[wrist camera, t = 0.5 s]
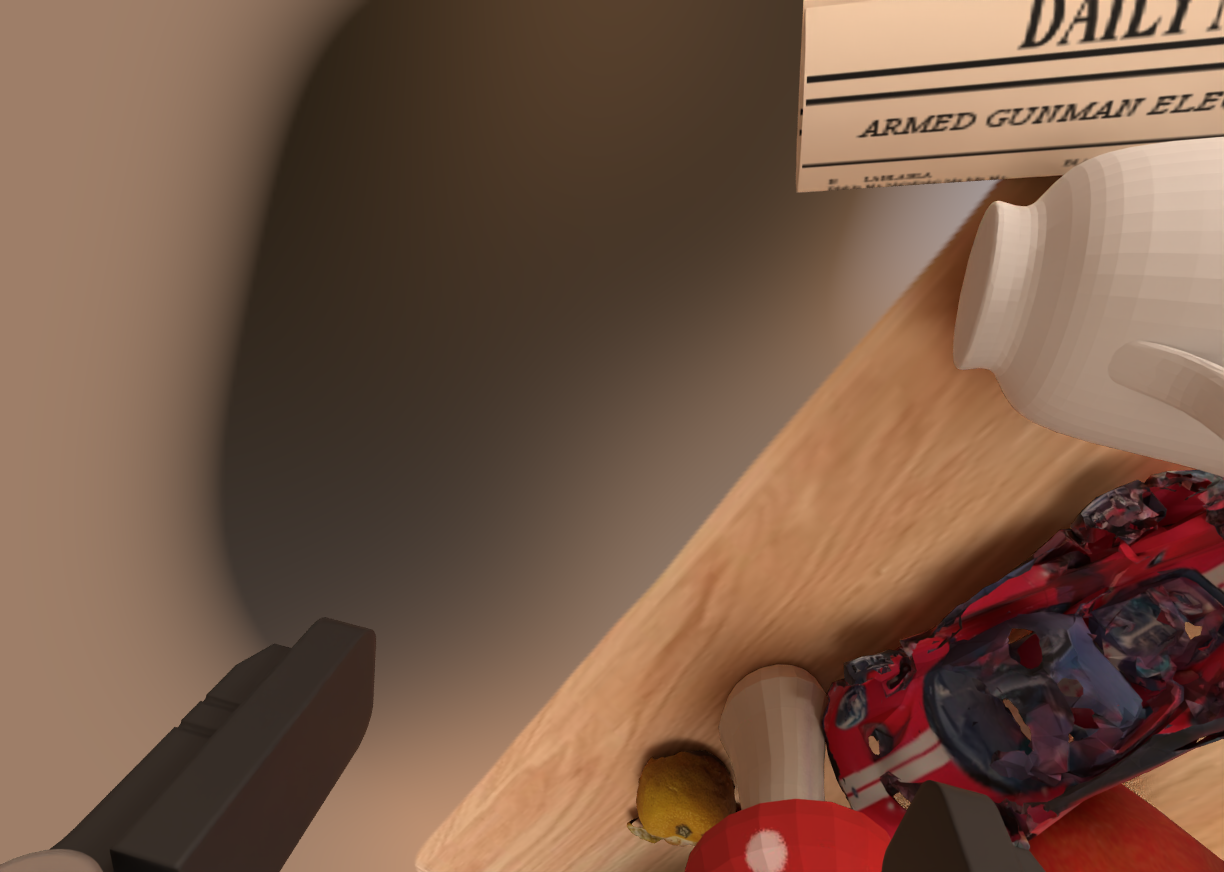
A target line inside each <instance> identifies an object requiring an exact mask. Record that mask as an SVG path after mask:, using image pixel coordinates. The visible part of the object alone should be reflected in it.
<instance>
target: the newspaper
mask: <svg viewBox="0 0 1224 872" xmlns="http://www.w3.org/2000/svg"><path fill="white" fill-rule="evenodd" d="M800 61H801V62H800V82H799V104H798V126H797V127H798V128H797V150H796V152H797V153H796V192H813V191H828V190H842V189H858V188H873V187H889V186H904V185H919V184H935V183H950V182H964V181H981V180H996V179H1011V178H1026V177H1042V176H1057V175H1064V174H1066V173H1067V172H1068V171H1069V170H1071V169H1072V168H1073V167H1075V166H1077V165H1079V164H1081V163H1083V162H1085V161H1087V160H1089V159H1091V158H1094V157H1097V156H1099V155H1102V154H1105V153H1108V152H1112V151H1116V150H1121V149H1125V148H1129V147H1135V146H1142V145H1149V144H1156V143H1163V142H1170V141H1180V140H1192V139H1203V138H1215V137H1224V0H804V2H803V22H802V41H801V60H800Z"/></svg>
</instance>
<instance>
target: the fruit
mask: <svg viewBox="0 0 1224 872" xmlns="http://www.w3.org/2000/svg"><path fill="white" fill-rule="evenodd" d="M734 789H735V785H734V783H733V780H732V779H731V778H730V773H729V772H728V771H727V770H726V768H725V766H724V765H723V763H722V762H721V761H720V760H719V759H718V758H717V757H715V756H714V755H712V754H710V753H709V752H707V751H701V750H699V751H686V752H678V753H677V754H676V755H672V756H669V757H666V758H663V757H660V758H659V759H654V757H651V758H650V759H649V761H648V764H647V765H645V767H644V768H643V770H642V775H641V777H640V778H639V787H638V791H637V797H636V804H637V811H638V815H639V817H638V818H639V819H640V821H641V823H642V825H643V827H634V826H633V825H632V823H633V822H634V821H635V820H637V819H638V818H636V819H633V820H631V821H629V822H627V828H628V829H629V830H630V831H631V832H632V833H633V834H634V835H636V836H639V837H640V838H641V839H644V840H646V841H649V842H651V843H656V842H658V841H660V840H661V839H664V840H665V841H666V842H667V843H669V844H672V845H679V846H687V845H692V846H696V844H697V843H698V841H699V840H700V839H701V837H702V836H703V834H704V833H705V832H706V831H708V830H709V829H710V828H712V827H713V826H714V825H716V824H717V823H719V822H720V821H721V820H723V819H724V818H726V817H727V816H728V815H730V814H733V813H736V812H735V811H736V805H735V797H734Z"/></svg>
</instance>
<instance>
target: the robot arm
mask: <svg viewBox="0 0 1224 872" xmlns="http://www.w3.org/2000/svg"><path fill="white" fill-rule="evenodd" d="M375 651H376V635H375V633H374V631H373V630H371V629H368V628H364V627H360V626H356V625H352V624H349V623H345V622H341V621H338V620H334V619H329V618H326V617H324V618H321V619H319V620H318V621H316V622H315V623H314V624H313V625H312V626H311V627H310V628H309V630H308V631H307V632H306V633H305V634H304V635H303V636H302V637H301V638H300V639H299V640H298V642H297V643H296V644H295V645H294V646H293V647H292V648H289V647H285V646H281V645H278V644H273V645H271V646H269V647H267V648H266V649H264V650H262V651H260V652H259V653H257V654H255V655H253V656H251V657H250V658H248V659H246V660H244V661H242V662H241V663H239V664H237V665H236V666H235V667H234V668H233V669H232V670H231V671H230V672H229V673H228V674H227V675H226V676H225V677H224V678H223V679H222V680H221V681H220V682H219V683H218V684H217V685H216V686H215V687H214V688H213V689H212V690H211V691H210V692H209V693H208V694H207V695H206V699H205V700H204V701H203V702H202V701H200V702H199V703H198V704H197V705H196V706H195V707H194V708H193V709H192V710H191V711H190V712H189V713H188V714H187V715H186V716H185V717H184V718H183V719H182V720H181V724H180V725H179V727H174V728H173V729H172V730H171V731H170V733H168V734H167V735H166V737H164V738H163V739H162V740H161V742H159V743H158V744H157V746H156V747H155V748H153V750H152V751H151V752H150V753H149V754H148V755H147V756H146V757H145V758H144V759H143V760H142V761H141V762H140V763H139V764H138V765H137V766H136V767H135V768H134V769H133V770H132V771H131V772H130V773H129V774H128V775H127V776H126V777H125V778H124V779H123V780H122V781H121V782H120V783H119V784H118V785H117V786H116V787H115V788H114V789H113V790H112V791H111V792H110V793H109V794H108V795H107V796H106V797H105V798H104V799H103V800H102V801H101V802H100V803H99V804H98V805H97V806H96V807H95V808H94V809H93V810H92V811H91V812H90V813H89V814H88V815H87V816H86V817H85V818H84V819H83V820H82V821H81V822H80V823H79V824H78V825H77V826H76V827H75V829H73V830H72V831H71V832H70V833H69V834H68V835H67V836H66V837H65V838H64V839H62V840H61V841H60V842H59V843H57V844H56V845H55V846H53V847H52V848H51V849H49V850H44V851H39V852H35V853H30V854H27V855H23V856H20V857H17V858H15V859H12V860H10V861H7V862H5V863H3V864H1V865H0V872H280V870H281V869H282V867H283V865H284V864H285V862H286V861H287V859H288V858H289V856H290V854H291V853H292V851H293V850H294V848H295V847H296V845H297V843H298V842H299V840H300V839H301V837H302V836H303V834H304V832H305V831H306V829H307V828H308V826H309V825H310V823H311V821H312V820H313V818H314V817H315V815H316V813H317V812H318V810H319V809H320V807H321V806H322V804H323V803H324V801H325V799H326V798H327V796H328V795H329V793H330V791H331V790H332V788H333V787H334V785H335V784H336V782H337V781H338V779H339V777H340V776H341V774H342V773H343V771H344V769H345V768H346V766H347V765H348V763H349V762H350V760H351V758H352V757H353V755H354V753H355V752H356V750H357V749H358V747H359V745H360V743H361V741H362V739H363V737H364V735H365V732H366V730H367V727H368V724H369V721H370V718H371V713H372V708H373V695H374V672H375ZM882 872H1046V871H1045V870H1044V869H1043V867H1042V866H1041V865H1040V864H1039V862H1038V861H1037V860H1036V859H1035V857H1034V856H1033V855H1032V853H1031V852H1030V851H1029V850H1027V849H1023V848H1019V847H1016V846H1013V843H1012V841H1011V838H1010V836H1009V834H1008V831H1007V829H1006V827H1005V824H1004V822H1003V820H1002V817H1001V815H1000V813H999V810H998V808H997V806H996V805H995V803H994V802H993V800H992V799H991V798H990V797H988V796H987V795H985V794H981V793H977V792H974V791H970V790H966V789H962V788H959V787H955V786H951V785H947V784H943V783H940V782H936V781H932V780H927V781H925V782H923V783H922V784H921V786H920V787H919V789H918V791H917V793H916V794H915V796H914V798H913V800H912V802H911V804H910V806H909V807H908V809H907V811H906V813H905V815H904V817H903V819H902V820H901V822H900V824H899V826H898V828H897V830H896V832H895V833H894V835H893V837H892V839H891V841H890V843H889V845H888V847H887V849H886V851H885V854H884V858H883V864H882Z"/></svg>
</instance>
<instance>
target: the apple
mask: <svg viewBox="0 0 1224 872" xmlns="http://www.w3.org/2000/svg"><path fill="white" fill-rule="evenodd" d="M1028 843H1029V845H1030V849H1029V851H1030V852H1031V853H1032V855H1033V856H1034V857H1035V859H1036V860H1037V861H1038V862H1039V864H1040V865H1041V866H1042V867H1043V869H1044V870H1045V871H1046V872H1224V861H1223V860H1221V859H1220V858H1219V857H1218V856H1216V855H1215V854H1214V853H1213V852H1211V851H1210V850H1209V849H1207V848H1206V847H1205V846H1204V845H1202V844H1201V843H1200V842H1198V841H1197V840H1196V839H1195V838H1193V837H1192V836H1191V835H1190V834H1188V833H1187V832H1186V831H1184V830H1183V829H1182V828H1181V827H1179V826H1178V825H1177V824H1176V823H1174V822H1173V821H1172V820H1170V819H1169V818H1168V817H1167V816H1165V815H1164V814H1163V813H1161V812H1160V811H1159V810H1158V809H1156V808H1155V807H1153V806H1152V805H1151V804H1149V803H1148V802H1146V801H1145V800H1144V799H1142V798H1141V797H1139V796H1138V795H1137V794H1135V793H1134V792H1132V791H1131V790H1130V789H1128V788H1127V787H1125V786H1124V785H1123V784H1119V785H1117V786H1115V787H1112V788H1110V789H1108V790H1106V791H1103V792H1101V793H1099V794H1097V795H1095V796H1093V797H1091V798H1089V799H1087V800H1085V801H1083V802H1081V803H1080V804H1079V805H1077V806H1076V807H1075V808H1073V809H1072V810H1071V811H1069V812H1068V813H1067V814H1065V815H1064V816H1063V817H1061V818H1060V819H1059V820H1057V821H1056V822H1055V823H1053V824H1052V825H1051V826H1049V827H1048V828H1047V829H1045V830H1044V831H1043V832H1041V833H1040V834H1039V835H1037V836H1036V837H1035V838H1033V839H1032V840H1030V841H1028Z"/></svg>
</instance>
